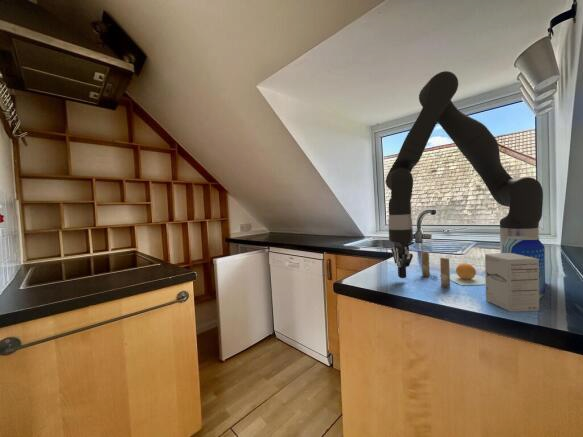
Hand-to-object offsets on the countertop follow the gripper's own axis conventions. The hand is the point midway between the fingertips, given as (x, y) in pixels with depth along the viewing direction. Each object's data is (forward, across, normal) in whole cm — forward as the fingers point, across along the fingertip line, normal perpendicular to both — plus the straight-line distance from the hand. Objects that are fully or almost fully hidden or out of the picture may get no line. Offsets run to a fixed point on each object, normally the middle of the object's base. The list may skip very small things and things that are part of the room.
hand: (402, 277), depth 83 cm
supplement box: (+2, -22, -18) cm, 28 cm away
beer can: (+2, -15, -27) cm, 31 cm away
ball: (-1, 0, -21) cm, 21 cm away
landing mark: (+2, 0, -22) cm, 22 cm away
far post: (+2, +6, -11) cm, 13 cm away
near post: (+2, -6, -11) cm, 13 cm away
